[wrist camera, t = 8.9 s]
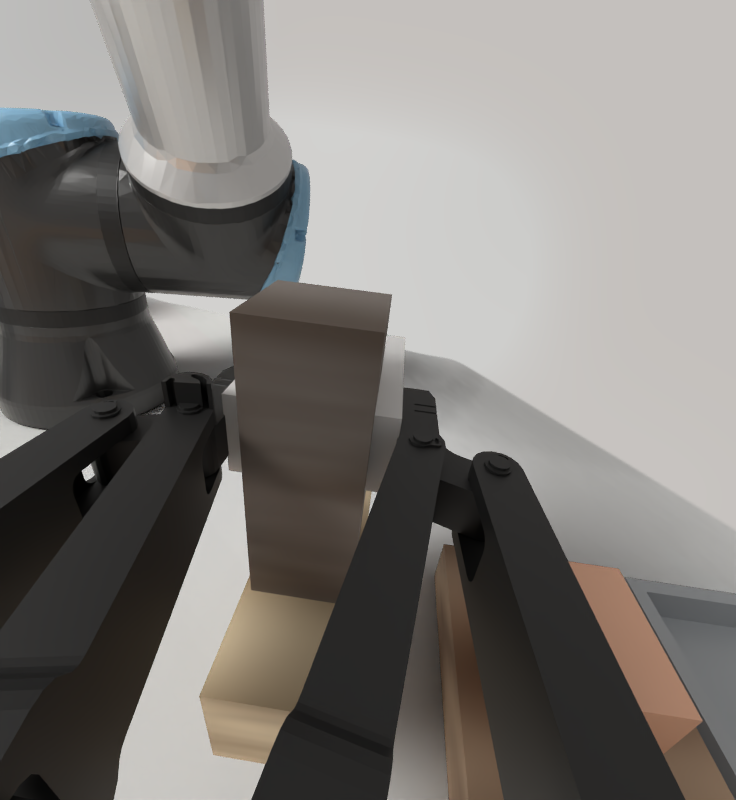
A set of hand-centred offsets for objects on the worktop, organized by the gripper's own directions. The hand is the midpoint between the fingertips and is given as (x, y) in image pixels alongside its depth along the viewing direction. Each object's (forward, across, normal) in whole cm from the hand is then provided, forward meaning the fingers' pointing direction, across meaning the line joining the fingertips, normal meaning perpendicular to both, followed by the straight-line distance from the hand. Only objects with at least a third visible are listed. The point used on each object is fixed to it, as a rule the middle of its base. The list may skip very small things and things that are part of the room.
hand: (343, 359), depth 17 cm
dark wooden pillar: (-5, 0, -10) cm, 11 cm away
